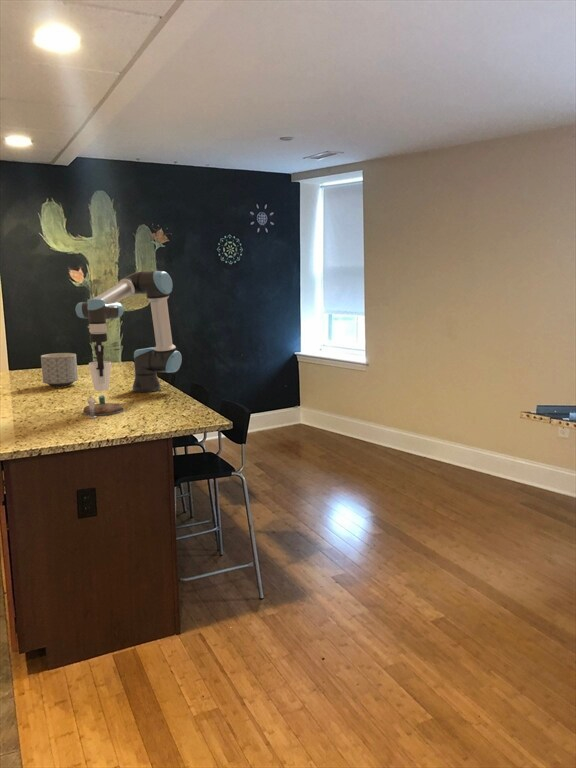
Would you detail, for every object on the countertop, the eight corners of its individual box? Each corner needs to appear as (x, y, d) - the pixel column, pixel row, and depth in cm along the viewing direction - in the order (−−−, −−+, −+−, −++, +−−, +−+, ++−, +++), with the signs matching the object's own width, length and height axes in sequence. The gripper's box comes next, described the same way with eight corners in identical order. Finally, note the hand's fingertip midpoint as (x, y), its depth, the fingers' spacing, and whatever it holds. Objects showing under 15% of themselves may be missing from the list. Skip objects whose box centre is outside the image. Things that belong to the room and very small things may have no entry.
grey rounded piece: (96, 416, 272) (95, 397, 271) (97, 418, 269) (95, 398, 267) (88, 417, 271) (87, 397, 269) (88, 418, 268) (87, 399, 266)
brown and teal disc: (120, 403, 296) (119, 394, 296) (123, 411, 276) (123, 402, 276) (83, 405, 291) (83, 397, 290) (84, 415, 271) (83, 405, 270)
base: (122, 406, 293) (121, 404, 293) (124, 413, 276) (124, 412, 276) (82, 409, 287) (82, 407, 287) (83, 417, 270) (83, 415, 270)
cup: (117, 389, 283) (115, 361, 281) (104, 393, 274) (102, 364, 271) (99, 388, 286) (97, 360, 284) (85, 392, 277) (83, 363, 275)
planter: (85, 384, 355) (83, 354, 352) (57, 390, 339) (55, 357, 336) (64, 382, 365) (61, 352, 362) (36, 387, 349) (33, 356, 346)
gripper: (88, 331, 285) (92, 378, 288) (89, 335, 264) (93, 386, 268) (105, 330, 287) (108, 377, 291) (107, 334, 266) (111, 385, 270)
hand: (101, 381), depth 279 cm, fingers closed on cup, 9 cm apart
